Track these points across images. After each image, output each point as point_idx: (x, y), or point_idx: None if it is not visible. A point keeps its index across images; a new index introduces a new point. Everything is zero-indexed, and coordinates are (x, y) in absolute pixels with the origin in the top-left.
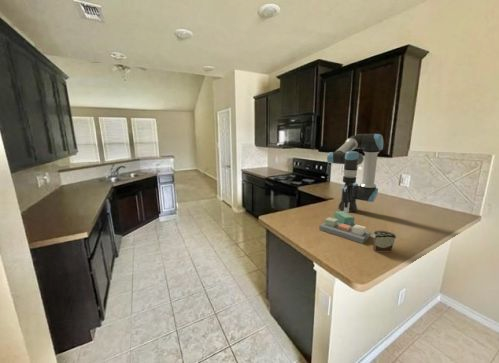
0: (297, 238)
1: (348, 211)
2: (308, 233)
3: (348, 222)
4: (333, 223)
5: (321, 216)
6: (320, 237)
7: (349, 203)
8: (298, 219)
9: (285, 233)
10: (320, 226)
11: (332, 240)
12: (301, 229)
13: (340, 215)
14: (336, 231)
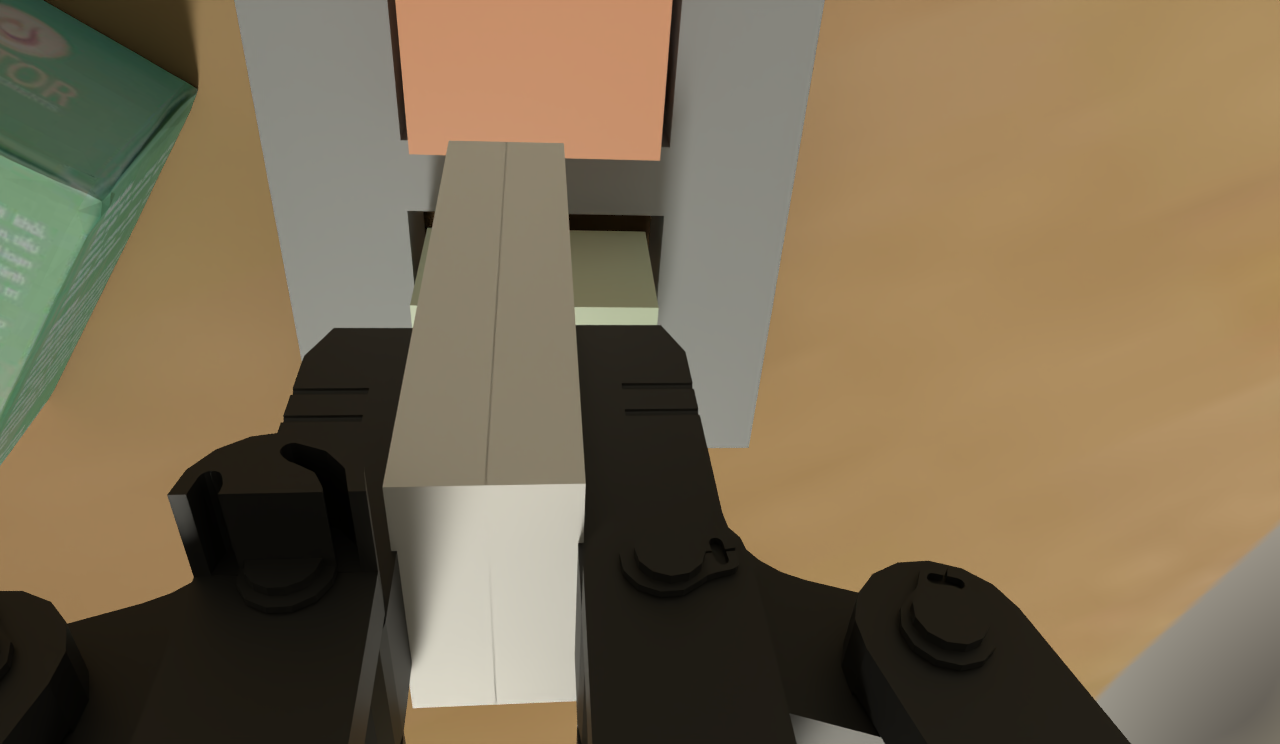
0: (1257, 455)
1: (484, 158)
2: (997, 435)
3: (49, 65)
4: (654, 287)
5: (101, 605)
6: (1060, 243)
7: (420, 433)
8: (564, 724)
9: (1156, 609)
10: (749, 421)
11: (1090, 20)
12: (904, 554)
13: (28, 367)
14: (803, 95)
